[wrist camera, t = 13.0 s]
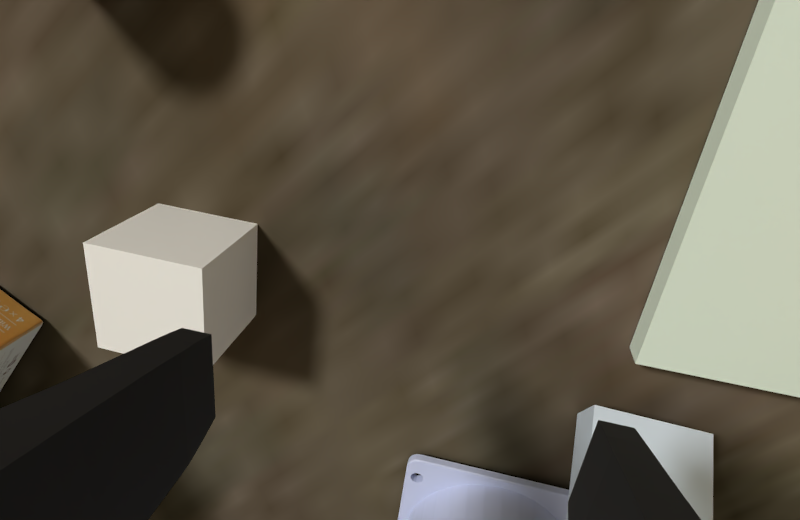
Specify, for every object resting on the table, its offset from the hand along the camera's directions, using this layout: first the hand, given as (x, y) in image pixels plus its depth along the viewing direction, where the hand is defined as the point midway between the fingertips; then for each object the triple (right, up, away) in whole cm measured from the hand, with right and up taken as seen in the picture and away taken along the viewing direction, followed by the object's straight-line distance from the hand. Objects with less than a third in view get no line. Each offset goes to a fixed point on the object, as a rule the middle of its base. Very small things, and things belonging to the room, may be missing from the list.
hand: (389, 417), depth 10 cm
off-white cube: (-7, +3, +11) cm, 13 cm away
